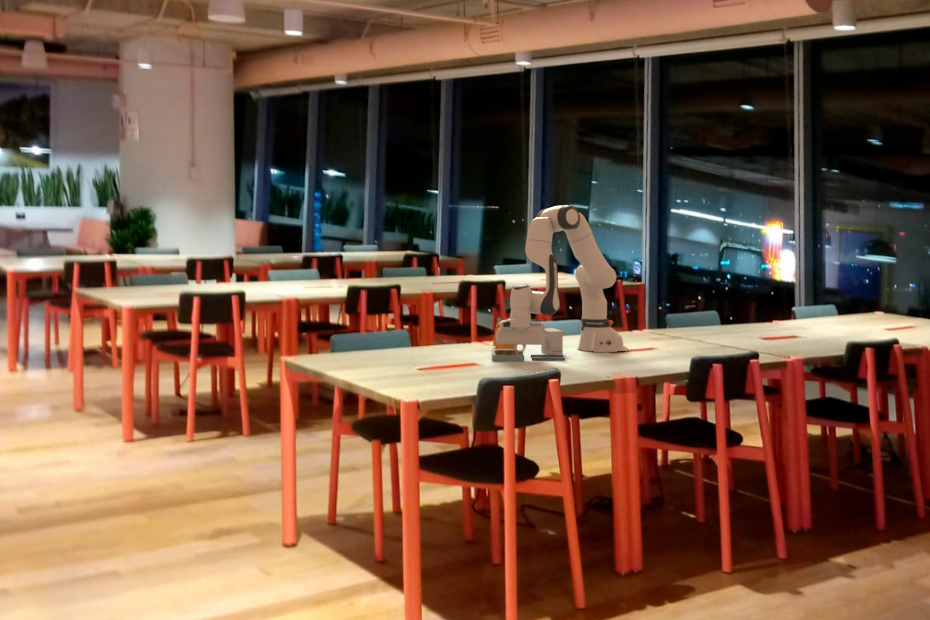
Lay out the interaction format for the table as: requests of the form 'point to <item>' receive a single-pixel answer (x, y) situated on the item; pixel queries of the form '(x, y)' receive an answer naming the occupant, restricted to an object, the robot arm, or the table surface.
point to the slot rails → (548, 357)
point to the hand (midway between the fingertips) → (519, 354)
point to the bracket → (501, 346)
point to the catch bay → (506, 357)
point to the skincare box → (552, 342)
